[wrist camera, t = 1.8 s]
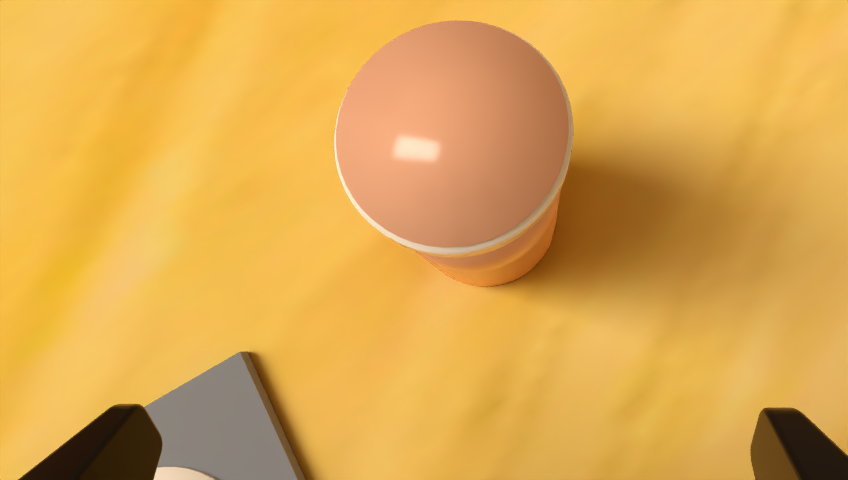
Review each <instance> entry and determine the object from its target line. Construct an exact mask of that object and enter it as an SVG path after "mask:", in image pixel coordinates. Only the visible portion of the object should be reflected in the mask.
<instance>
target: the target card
mask: <svg viewBox="0 0 848 480" xmlns="http://www.w3.org/2000/svg"><path fill="white" fill-rule="evenodd" d="M144 408H145V409H146V411H147V412H148V414H149V416H150V417H151V419H152V421H153V422H154V424H155V426H156V427H157V429H158V431H159V432H160V434H161V437H162V444H163V446H162V452H161V456H160V459H159V463H158V466H157V470H156V473H155V476H154V480H306V479H305V477H304V474H303V472H302V470H301V468H300V466H299V463H298V461H297V459H296V457H295V455H294V452H293V450H292V448H291V446H290V444H289V441H288V439H287V437H286V435H285V433H284V430H283V428H282V426H281V424H280V422H279V419H278V417H277V415H276V413H275V411H274V408H273V406H272V404H271V402H270V400H269V397H268V395H267V393H266V391H265V389H264V386H263V384H262V382H261V380H260V378H259V375H258V373H257V371H256V369H255V367H254V364H253V362H252V360H251V358H250V356H249V353H248V352H239V353H237V354H235V355H234V356H232V357H230V358H228V359H227V360H225V361H223V362H221V363H220V364H218V365H216V366H214V367H213V368H211V369H209V370H208V371H206V372H204V373H202V374H201V375H199V376H197V377H195V378H194V379H192V380H190V381H188V382H187V383H185V384H183V385H181V386H180V387H178V388H176V389H175V390H173V391H171V392H169V393H168V394H166V395H164V396H162V397H161V398H159V399H157V400H155V401H154V402H152V403H150V404H148V405H147V406H145V407H144Z"/></svg>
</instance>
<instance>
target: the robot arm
mask: <svg viewBox="0 0 848 480" xmlns="http://www.w3.org/2000/svg"><path fill="white" fill-rule="evenodd" d="M162 446H163V444H162V437H161V434H160V432H159V431H158V429H157V427H156V426H155V424H154V422H153V421H152V419H151V417H150V416H149V414H148V412H147V411H146V409H145V408H144V407H143V406H141V405H140V404H117V405H114V406H112V407H110V408H109V409H108V410H106V411H105V412H104V413H103V414H101V415H100V416H99V417H97V418H96V419H95V420H94V421H92V422H91V423H90V424H88V425H87V426H86V427H85V428H83V429H82V430H81V431H80V432H78V433H77V434H76V435H74V436H73V437H72V438H71V439H69V440H68V441H67V442H66V443H64V444H63V445H62V446H60V447H59V448H58V449H57V450H55V451H54V452H53V453H52V454H50V455H49V456H48V457H46V458H45V459H44V460H43V461H41V462H40V463H39V464H38V465H36V466H35V467H34V468H32V469H31V470H30V471H29V472H27V473H26V474H25V475H23V476H22V477H21V478H20V479H18V480H154V476H155V473H156V470H157V466H158V463H159V459H160V456H161V452H162ZM751 462H752V467H753V471H754V476H755V480H848V455H846V454H845V453H844V452H843V451H842V450H841V449H840V448H839V447H838V446H837V445H836V444H835V443H834V442H833V441H832V440H831V439H829V438H828V437H827V436H826V435H825V434H824V433H823V432H822V431H821V430H820V429H819V428H818V427H817V426H816V425H815V424H814V423H813V422H811V421H810V420H809V419H808V418H807V417H806V416H805V415H804V414H803V413H802V412H800V411H799V410H797V409H794V408H764V409H763V410H762V411H761V412H760V414H759V417H758V421H757V425H756V429H755V432H754V436H753V440H752V443H751Z"/></svg>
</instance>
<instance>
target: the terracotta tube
mask: <svg viewBox="0 0 848 480" xmlns="http://www.w3.org/2000/svg"><path fill="white" fill-rule="evenodd" d="M572 143H573V117H572V111H571V106H570V101H569V98H568V95H567V92H566V89H565V87H564V85H563V83H562V81H561V79H560V77H559V75H558V74H557V72H556V71H555V69H554V68H553V67H552V65H551V64H550V62H549V61H548V60H547V59H546V58H545V57H544V56H543V55H542V54H541V53H540V52H539V51H538V50H537V49H536V48H535V47H533V46H532V45H531V44H530V43H529V42H527V41H525V40H524V39H522V38H521V37H519V36H517V35H516V34H514V33H511V32H509V31H507V30H505V29H502V28H499V27H496V26H493V25H489V24H485V23H479V22H473V21H445V22H438V23H433V24H429V25H425V26H422V27H419V28H416V29H413V30H411V31H409V32H406V33H404V34H402V35H400V36H398V37H397V38H395V39H394V40H392V41H390V42H389V43H387V44H386V45H385V46H383V47H382V48H381V49H380V50H378V51H377V52H376V53H375V54H374V55H373V56H372V57H371V58H370V59H369V60H368V61H367V62H366V63H365V64H364V65H363V67H362V68H361V69H360V71H359V72H358V73H357V75H356V76H355V78H354V79H353V81H352V83H351V84H350V86H349V88H348V89H347V92H346V94H345V96H344V98H343V101H342V103H341V106H340V110H339V113H338V116H337V121H336V128H335V141H334V149H335V159H336V165H337V169H338V173H339V177H340V179H341V182H342V184H343V187H344V189H345V191H346V193H347V195H348V197H349V198H350V200H351V202H352V203H353V205H354V206H355V207H356V209H357V210H358V211H359V213H360V214H361V215H362V216H363V217H364V218H365V219H366V220H367V221H368V222H369V223H370V224H371V225H372V226H374V227H375V228H376V229H378V230H379V231H380V232H382V233H383V234H384V235H386V236H387V237H388V238H390V239H391V240H393V241H395V242H396V243H398V244H400V245H402V246H404V247H406V248H408V249H411V250H413V251H415V252H416V253H418V254H419V255H420V256H422V257H423V258H424V259H426V260H427V261H428V262H430V263H431V264H432V265H434V266H435V267H436V268H438V269H439V270H440V271H442V272H443V273H444V274H446V275H447V276H449V277H451V278H452V279H454V280H456V281H459V282H461V283H464V284H468V285H472V286H481V287H484V286H497V285H502V284H505V283H509V282H511V281H514V280H516V279H518V278H520V277H521V276H523V275H525V274H526V273H527V272H529V271H530V270H531V269H533V268H534V267H535V266H536V265H537V263H538V262H539V261H540V260H541V259H542V257H543V256H544V255H545V253H546V251H547V250H548V248H549V246H550V243H551V241H552V238H553V235H554V231H555V225H556V218H557V212H558V205H559V198H560V191H561V188H562V185H563V183H564V180H565V178H566V175H567V171H568V167H569V163H570V157H571V152H572Z"/></svg>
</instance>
